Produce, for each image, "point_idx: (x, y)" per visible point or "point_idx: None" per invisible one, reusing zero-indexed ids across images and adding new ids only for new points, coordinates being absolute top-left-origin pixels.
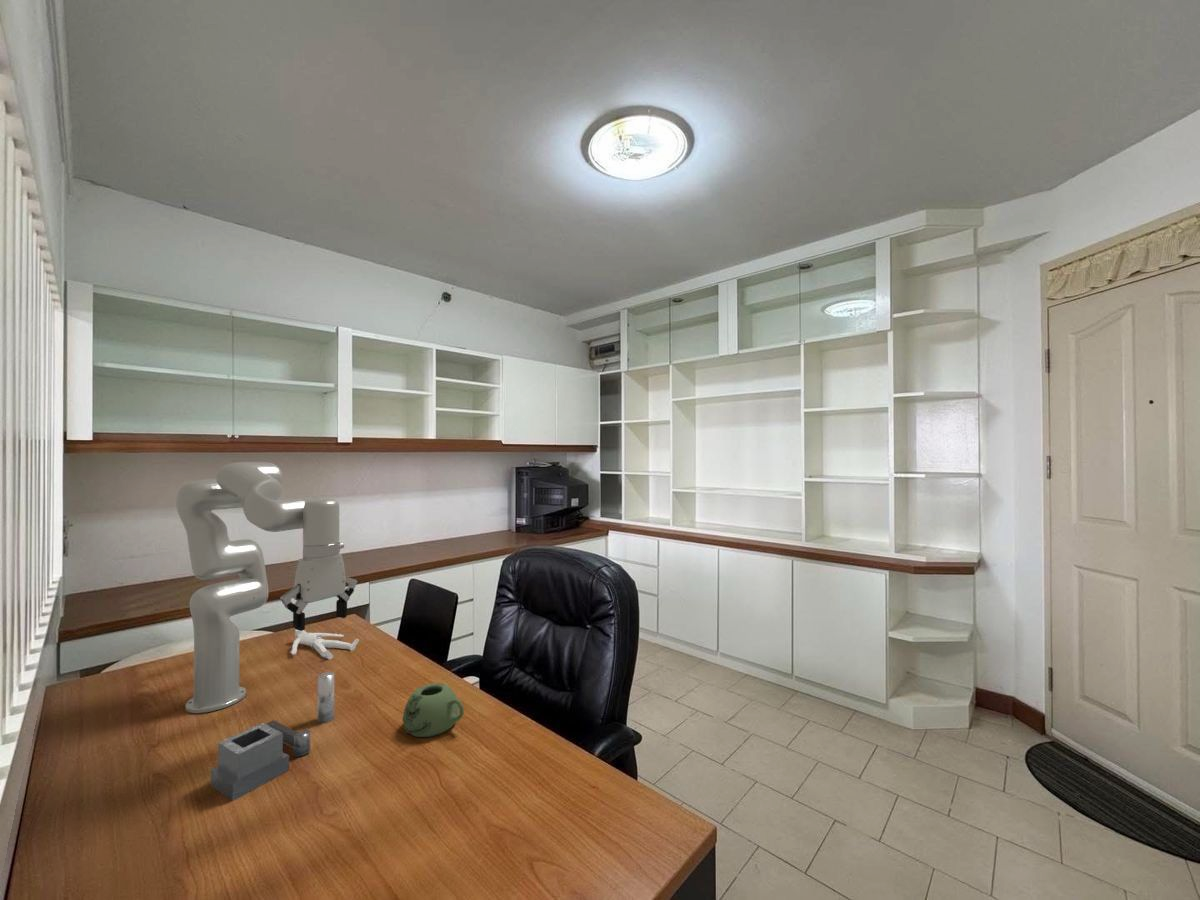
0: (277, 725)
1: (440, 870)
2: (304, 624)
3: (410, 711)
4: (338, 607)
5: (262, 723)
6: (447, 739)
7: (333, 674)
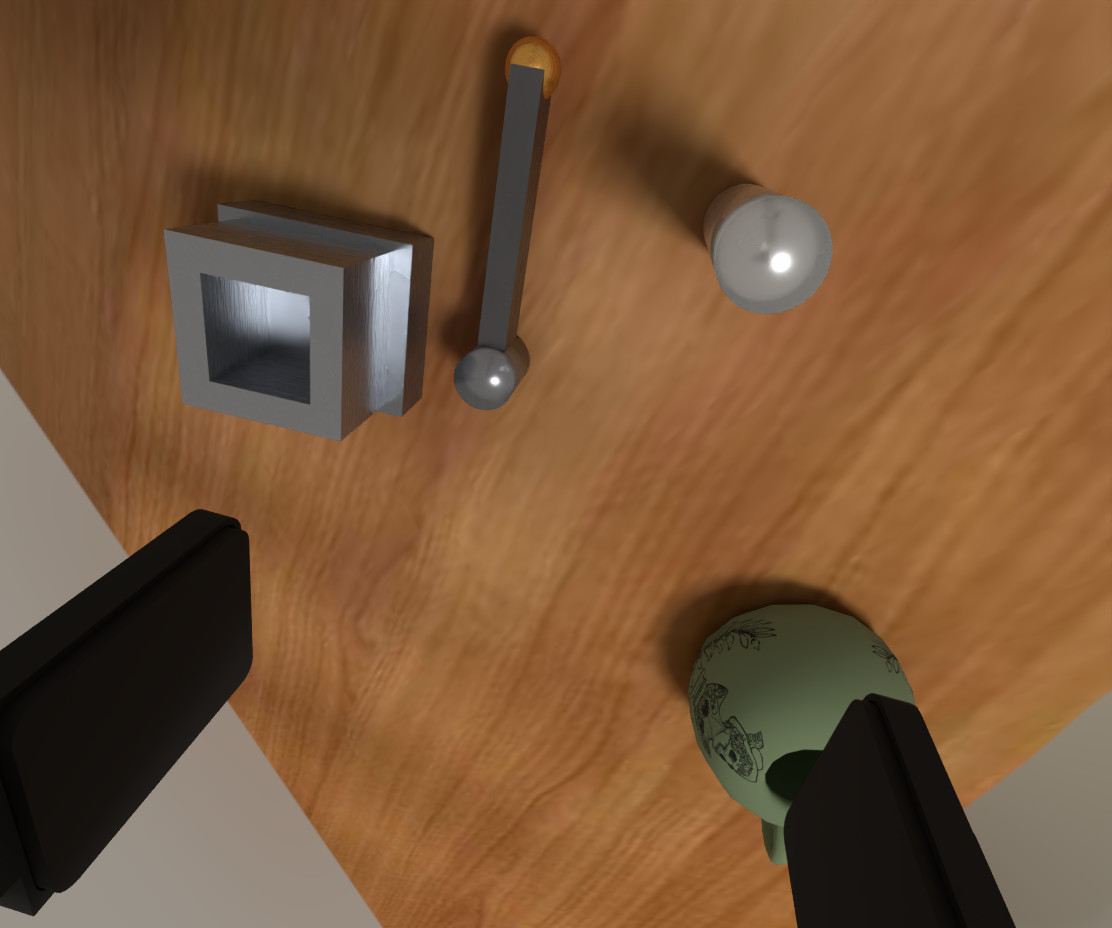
0: (513, 158)
1: (368, 860)
2: (199, 725)
3: (708, 713)
4: (876, 903)
5: (340, 272)
6: None
7: (789, 308)
